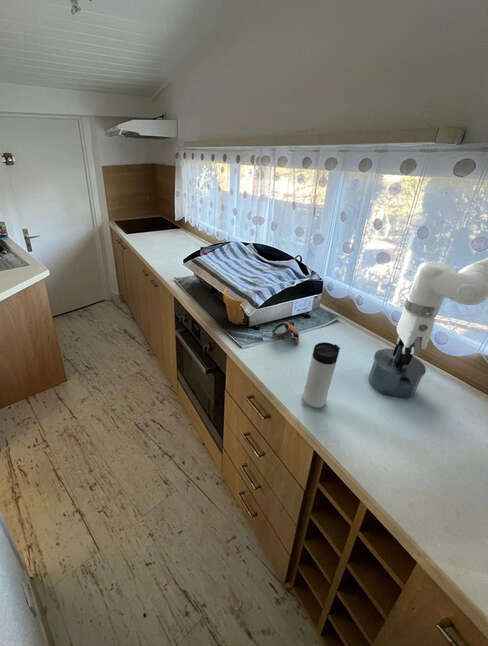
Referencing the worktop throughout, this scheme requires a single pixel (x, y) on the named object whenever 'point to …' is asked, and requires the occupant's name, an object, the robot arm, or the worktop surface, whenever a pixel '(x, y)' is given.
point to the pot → (392, 383)
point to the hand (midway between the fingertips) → (400, 359)
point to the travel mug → (320, 374)
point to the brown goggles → (289, 330)
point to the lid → (390, 365)
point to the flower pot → (234, 309)
